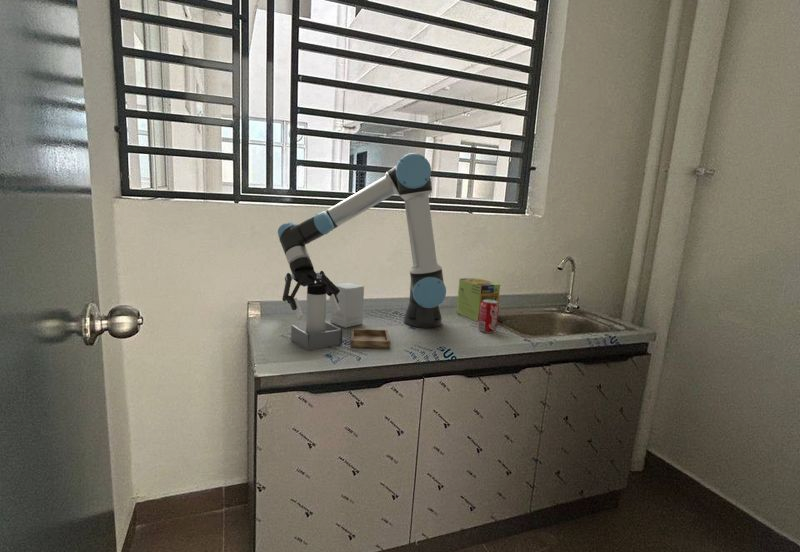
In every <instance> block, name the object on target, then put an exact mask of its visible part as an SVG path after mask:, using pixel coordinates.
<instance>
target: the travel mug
mask: <svg viewBox="0 0 800 552" xmlns="http://www.w3.org/2000/svg"><path fill="white" fill-rule="evenodd" d="M314 283H315V284H310V285H308V286H306V287H307V289H306V290H307V291H306V315H305V316H306V319H305V320H306V323H305V332H306V333H308V334H314V333H320V332H325V323H326V320H327V317H326V315H327V313H326V312H327V294H326V286H328V284H327V283H316V282H314Z"/></svg>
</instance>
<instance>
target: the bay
mask: <svg viewBox="0 0 800 552" xmlns="http://www.w3.org/2000/svg"><path fill="white" fill-rule="evenodd" d="M290 331H291V332H290V333H291V334H290V340H291V341H292V342H294V343H296V344H297V345H298V346H300V347H302V348H303V349H305V350H306V351H307V350H308V351H313V350H317V349H318V348H319V349H322V348H323V347H324V348H329V347H334V346H339V345H342V344H343V329H342V328H340V327H338V325H336V324H334V323H331V322H329V321H326V323H325V332H320V333H314V334H308V333H306V331H304V330H302V329H301V328H299V327H297V326H296V325H293V324H291V326H290ZM328 346H329V347H328ZM312 349H313V350H312Z"/></svg>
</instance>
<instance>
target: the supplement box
mask: <svg viewBox="0 0 800 552" xmlns="http://www.w3.org/2000/svg"><path fill="white" fill-rule="evenodd" d="M334 285H335V286H336V287H337V288H338V289H339V290H340V292H339V293H338V294H337V298H338V301H339V303H338V306H339V308H340V311H339V313H338V314H336V315H335V313H334V310H333V308H332V306H331V310H330V311H331V314H330V323H331V324H333V325H336V326H340V327H342V328H349V327H354V326H355V327H356V326H358V325H363V324H364V323H363V319H364V301H365V300H364V296H365V286H364V285H360V284H355V283H352V282H343V283H334Z"/></svg>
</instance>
